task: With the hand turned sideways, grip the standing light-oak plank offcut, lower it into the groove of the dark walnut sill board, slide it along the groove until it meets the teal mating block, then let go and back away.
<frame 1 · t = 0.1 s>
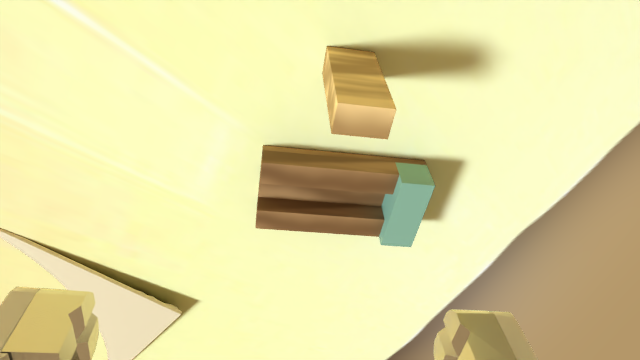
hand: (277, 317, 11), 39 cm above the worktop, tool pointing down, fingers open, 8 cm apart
walnut sill: (338, 185, 58), on the worktop
corner molding: (52, 311, 72), on the worktop
oak plank: (347, 62, 48), on the worktop
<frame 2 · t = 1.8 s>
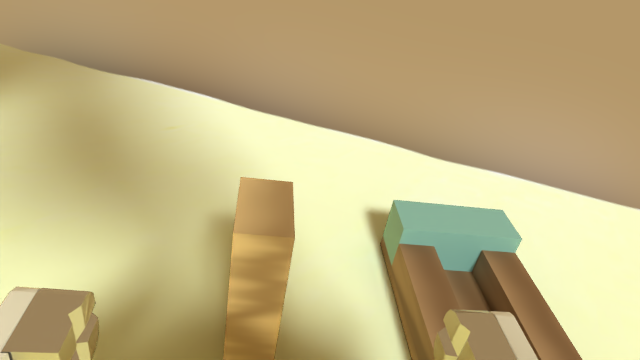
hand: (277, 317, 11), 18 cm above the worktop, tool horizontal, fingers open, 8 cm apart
walnut sill: (468, 335, 35), on the worktop
oak plank: (248, 349, 31), on the worktop
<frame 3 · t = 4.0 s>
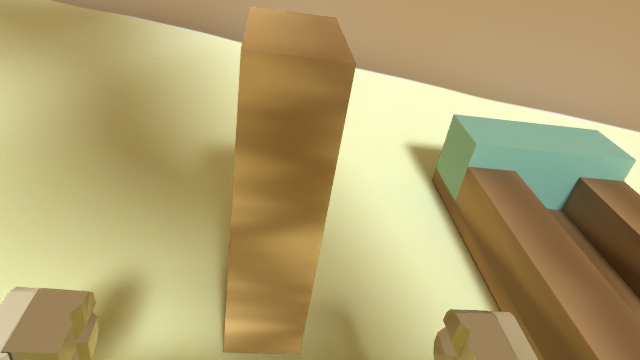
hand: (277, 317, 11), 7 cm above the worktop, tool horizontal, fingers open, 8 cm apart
walnut sill: (576, 289, 24), on the worktop
oak plank: (263, 304, 20), on the worktop
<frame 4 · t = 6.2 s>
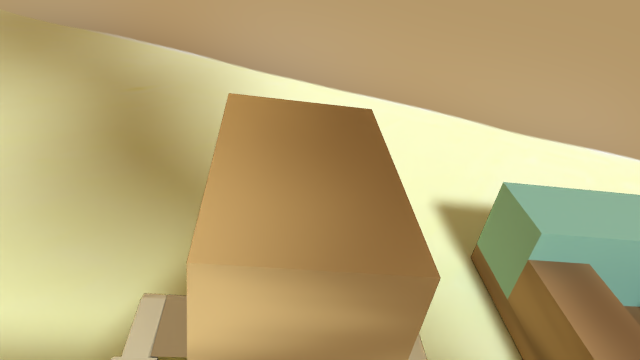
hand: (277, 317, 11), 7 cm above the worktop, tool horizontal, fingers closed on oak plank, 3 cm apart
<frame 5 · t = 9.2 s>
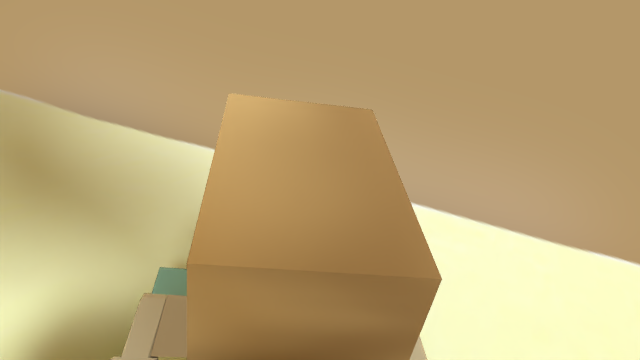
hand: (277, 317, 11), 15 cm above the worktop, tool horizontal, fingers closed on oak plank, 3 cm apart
when the fingers open (9 cm above the worktop, at t = 12.5 s): oak plank stays where it is, resting on walnut sill.
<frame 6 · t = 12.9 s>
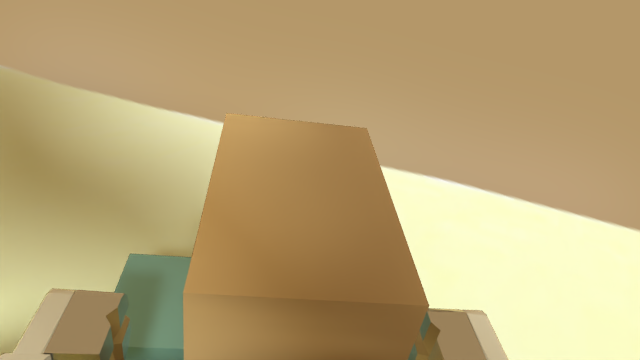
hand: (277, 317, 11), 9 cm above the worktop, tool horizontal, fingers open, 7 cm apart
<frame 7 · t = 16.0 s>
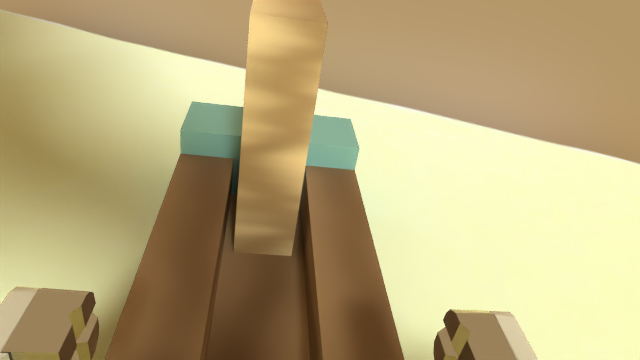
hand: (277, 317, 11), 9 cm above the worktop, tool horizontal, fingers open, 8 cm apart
walnut sill: (261, 278, 24), on the worktop
oak plank: (264, 224, 26), point 1 cm above the worktop, touching walnut sill
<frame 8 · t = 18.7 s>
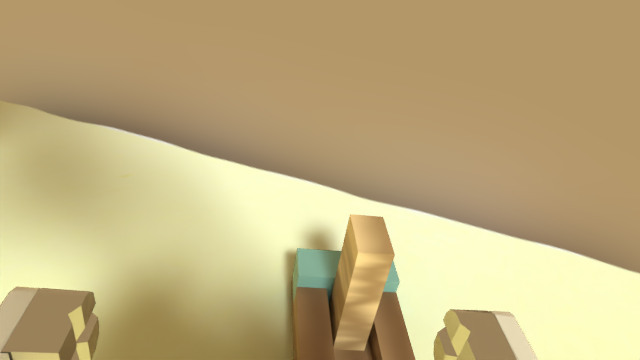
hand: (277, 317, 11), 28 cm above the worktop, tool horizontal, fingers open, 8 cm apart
oak plank: (345, 328, 45), point 1 cm above the worktop, touching walnut sill
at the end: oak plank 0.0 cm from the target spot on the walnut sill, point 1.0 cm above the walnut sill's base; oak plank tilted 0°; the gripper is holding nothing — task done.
